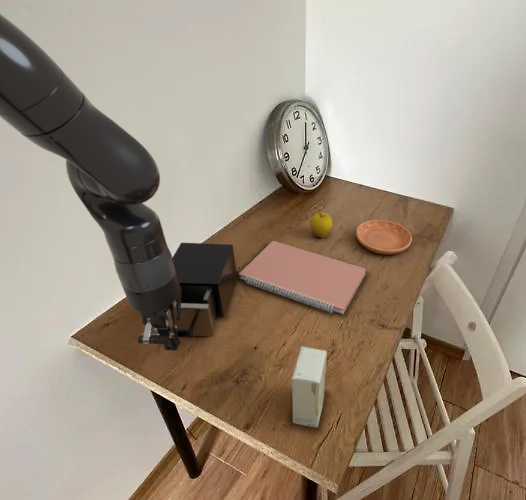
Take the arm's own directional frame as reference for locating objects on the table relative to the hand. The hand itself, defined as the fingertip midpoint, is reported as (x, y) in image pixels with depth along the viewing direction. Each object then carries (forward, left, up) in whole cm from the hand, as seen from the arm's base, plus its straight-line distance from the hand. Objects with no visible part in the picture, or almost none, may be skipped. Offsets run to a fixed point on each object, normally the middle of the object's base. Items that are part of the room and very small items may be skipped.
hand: (172, 346), depth 64 cm
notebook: (+25, -22, -5) cm, 34 cm away
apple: (+44, -26, -5) cm, 52 cm away
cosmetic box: (-9, -25, -5) cm, 27 cm away
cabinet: (+18, 0, -5) cm, 19 cm away
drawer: (+10, 0, -4) cm, 11 cm away
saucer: (+42, -44, -5) cm, 61 cm away
